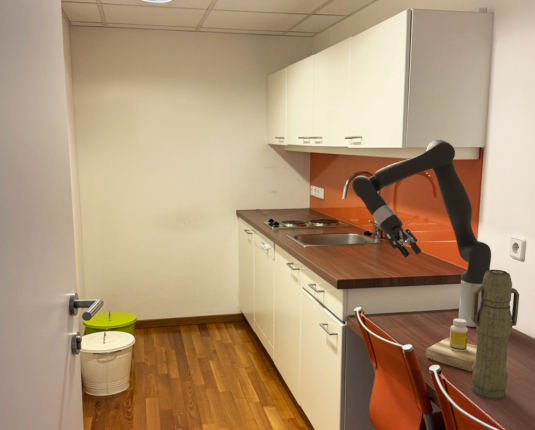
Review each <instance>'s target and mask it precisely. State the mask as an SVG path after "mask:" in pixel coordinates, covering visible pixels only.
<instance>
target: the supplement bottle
mask: <svg viewBox="0 0 535 430" xmlns="http://www.w3.org/2000/svg"><path fill="white" fill-rule="evenodd" d="M452 322H453V324H452V325H451V326H450V329H449V330H450V331H449V338H450V342H449V348H450V349H451V350H454V351H459V352H463V351H466V349H467V343H468V336H469V335H468V334H469V328H467V327H468V326H466V320H464V319H458V318H453V321H452Z"/></svg>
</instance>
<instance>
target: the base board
mask: <svg viewBox="0 0 535 430" xmlns="http://www.w3.org/2000/svg"><path fill="white" fill-rule="evenodd" d="M449 342H450V337H446V338H444V339H442V340H441V341H438V342H436V343H434V344H433V345H431V346H429V347H427V348H425V349H426V350H425V358H426V359H429V358H430V359H429V360H432V359H433V361H435V362H439V363H441V364H445V365H449V366H452V367H455V368H458V369H461V370H465V371H468V372H473V367H474V365H475V363H476V349H477V345H475V344H470V343H468V342H467V349H466V351H463V352H459V351H454V350H451V349H450V348H449Z"/></svg>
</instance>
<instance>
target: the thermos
mask: <svg viewBox="0 0 535 430" xmlns="http://www.w3.org/2000/svg"><path fill="white" fill-rule="evenodd" d="M480 291H481V298H482V299H481V302H480V308H479V310H478V297H479V293H480ZM512 294H513V298H512ZM511 301H512V310H511V305H510V304H511ZM519 302H520V293H519V292H518V290H517V288H514V287H513V280H512V278H511V274H510V273H509V272H507V271H505V270H501V269H490V270H489V271H486V273H485V275H484V277H483V280H482V286H481V287H477V288H476V289H475V291H474V292H473V305H472V318H471V320H472V321H473V322H474V323H475V324H476V327H475V330H476V333H477V335H476V336H477V338H476V346H477V349H476V363H475V365H474V367H473V370H472V376H471V377H472V378H471V382H472V386H471V391H472V393H473V394H474V395H476V396H478V397H480V398H483V399H487V400H492V401H498V400H503V399H504V398H505V397H506V389H507V385H508V375H509V374H508V370H507V360H508V359H507V358H508V349H509V348H508V347H509V338H510V336H511V333H512V329H513V327H514V326H517V322H518V315H519V304H520V303H519ZM477 311H478V312H477Z"/></svg>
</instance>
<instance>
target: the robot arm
mask: <svg viewBox="0 0 535 430" xmlns="http://www.w3.org/2000/svg"><path fill="white" fill-rule="evenodd" d="M455 154H456V150H455V148H454V146H453V145H452V144H451V143H449V142H448V141H445V140H442V139H436V140H435V139H434V140H433V141H431V142H430V143H429V144H428V145H427V148H426V151H424V152H423V153H421V154H418V155H416V156H414V157H412V158H408V159H405V160H400V161H397V162H395V163H391V164H389V165H386V166H385V167H382V168H380V169H378V170H376V171H375V172H374V175H372V176H370V177H369V178H368V177H367V176H364V175H358V176H356V177H354V179H353V180H352V183H351V187H352V189H353V191H354V193H355V195H356V196H357V197H358V198H360V200H361V201H362V202H363V204H364V205H365V208H366V209H367V211H368V212H369V214H370V215H371V216H372V217H373V219H374V221H375V223H376V224H377V225H378V226H379V228H380V229H381V230H382V232H383V233H384V235H385V236H384V237H385V239H386V240H387V241H388V243H389V244H390V245H391V247H392V248H393V250H398V251H399V252H400V253H401V255H402V256H403V257H404V258H406V259H407V258H408V257H409V256H410V255H411V253H410V252H409V251H408V249H407V248H406V247H405V245H408V246H409V247H410V248H411V250H412V251H413V252H414V253H415V255H419V254H421V253H422V249H421V248H420V247H419V246H418V244H417V242H418V238H416V236H415V235H414V234H413V233H412V231H410V229H409V228H406V229H405V230H404V228H403V223H404V222H403V221H402V220H401V219H400V218H399V217H398V215H397V214H396V212H395V211H394V210H393V209H392V208H391V207H390V205H389V204H388V203H387V202H386V201H385V199H384V198H383V197H382V196H381V195H380V194H379V191H381V190H382V189H384V188H386V187H388V186H391V185H394V184H395V183H398V182H400V181H402V180H404V179H407V178H409V177H412V176H414V175H416V174H419V173H422V172H425V171H429V170H433V172H434V173H435V177H436V180H437V184H438V188H439V193H440V194H441V197H442V202H443V205H444V208H445V211H446V213H447V215H448V218H449V221H450V224H451V226H452V230H453V232H454V236H455V241H456V245H457V249H458V253H459V256H460V258H461V259H462V260H463V261H464V262H466V263H468V264H467V270H466V271H463V272H462V273H461V277H460V288H459V289H460V291H459V305H458V306H459V307H458V318H457V319H464V320H466V326H465V327H472V328H476V324H475V323H474V322H473V321H472V320H471V318H472V305H473V292H474V291H475V289H476V288H477V287H481V286H482V280H483V277H484V275H485V273H486V271H489V270H491V269H490V268H491V263H492V262H491V261H492V250H491V248H490V246H489V245H488V244H487V243H485V242H482V241H479V240H478V239H476V236H475V234H474V230H473V228H472V216H473V207H472V203H471V200H470V197H469V195H468V192H467V190H466V188H465V186H464V184H463V182H462V181H461V179H460V177H459V175H458V174H457V172H456V169H455V166H454V162H453V161H454V160H455V157H456V155H455ZM481 299H482V298H481V291H480V293H479V297H478V310H479V308H480V302H481ZM477 312H478V311H477Z"/></svg>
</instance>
